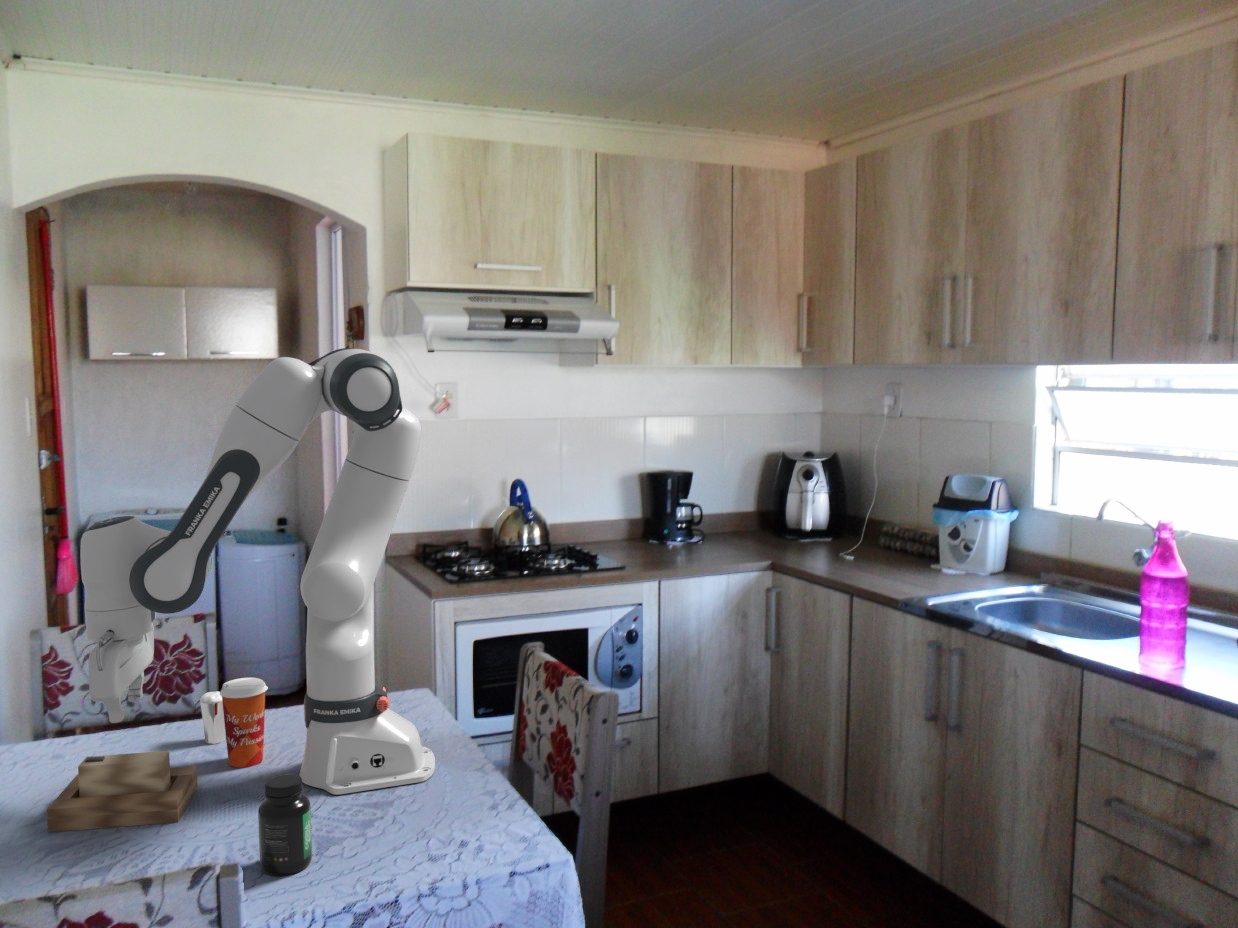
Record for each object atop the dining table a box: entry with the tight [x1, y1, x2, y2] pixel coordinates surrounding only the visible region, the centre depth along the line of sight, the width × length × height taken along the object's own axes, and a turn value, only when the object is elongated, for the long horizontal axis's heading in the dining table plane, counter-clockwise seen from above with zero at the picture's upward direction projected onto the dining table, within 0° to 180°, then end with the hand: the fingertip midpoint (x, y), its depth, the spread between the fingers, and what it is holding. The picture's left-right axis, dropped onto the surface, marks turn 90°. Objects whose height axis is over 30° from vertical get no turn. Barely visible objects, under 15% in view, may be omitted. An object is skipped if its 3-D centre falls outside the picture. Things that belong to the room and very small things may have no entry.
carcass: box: [46, 765, 199, 833], centre depth 153 cm, size 18×13×4 cm
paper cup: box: [219, 677, 269, 769], centre depth 171 cm, size 8×8×14 cm
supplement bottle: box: [257, 773, 313, 877], centre depth 135 cm, size 7×7×12 cm
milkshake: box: [199, 691, 226, 745], centre depth 181 cm, size 4×5×10 cm
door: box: [77, 750, 171, 798], centre depth 153 cm, size 12×4×6 cm, turn 102°
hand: (126, 710), depth 152 cm, fingers open, 8 cm apart
